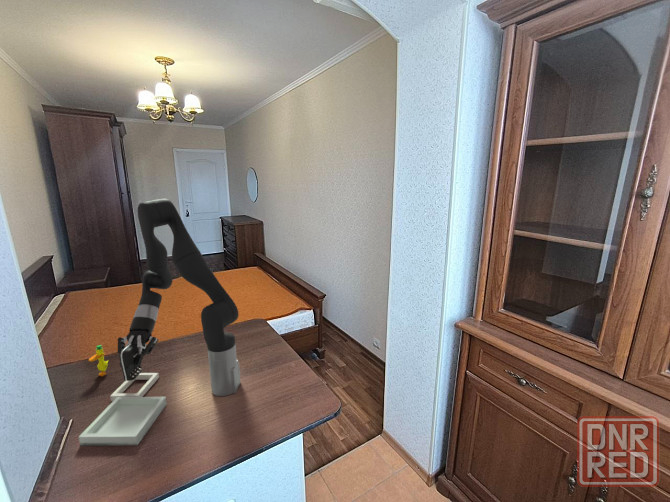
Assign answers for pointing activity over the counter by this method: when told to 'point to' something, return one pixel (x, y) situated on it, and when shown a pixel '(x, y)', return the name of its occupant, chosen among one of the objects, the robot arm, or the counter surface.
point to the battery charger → (129, 362)
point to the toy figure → (100, 360)
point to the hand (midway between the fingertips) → (129, 366)
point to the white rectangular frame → (142, 376)
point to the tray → (123, 421)
